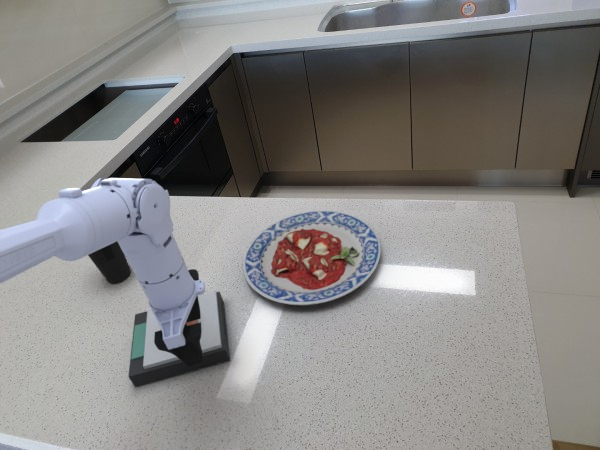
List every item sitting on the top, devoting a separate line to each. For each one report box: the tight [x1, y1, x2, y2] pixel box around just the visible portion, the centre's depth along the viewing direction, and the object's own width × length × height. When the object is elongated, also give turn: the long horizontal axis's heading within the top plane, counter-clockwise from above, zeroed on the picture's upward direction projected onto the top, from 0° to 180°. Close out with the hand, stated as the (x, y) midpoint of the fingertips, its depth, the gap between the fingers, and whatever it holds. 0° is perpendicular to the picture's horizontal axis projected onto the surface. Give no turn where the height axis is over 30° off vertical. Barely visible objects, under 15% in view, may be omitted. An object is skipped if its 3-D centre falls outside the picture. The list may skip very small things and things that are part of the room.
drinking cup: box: [87, 241, 132, 285], centre depth 87 cm, size 8×8×20 cm
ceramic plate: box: [242, 210, 381, 306], centre depth 86 cm, size 26×26×3 cm
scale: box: [127, 290, 231, 388], centre depth 75 cm, size 15×13×4 cm
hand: (194, 339), depth 63 cm, fingers open, 7 cm apart
